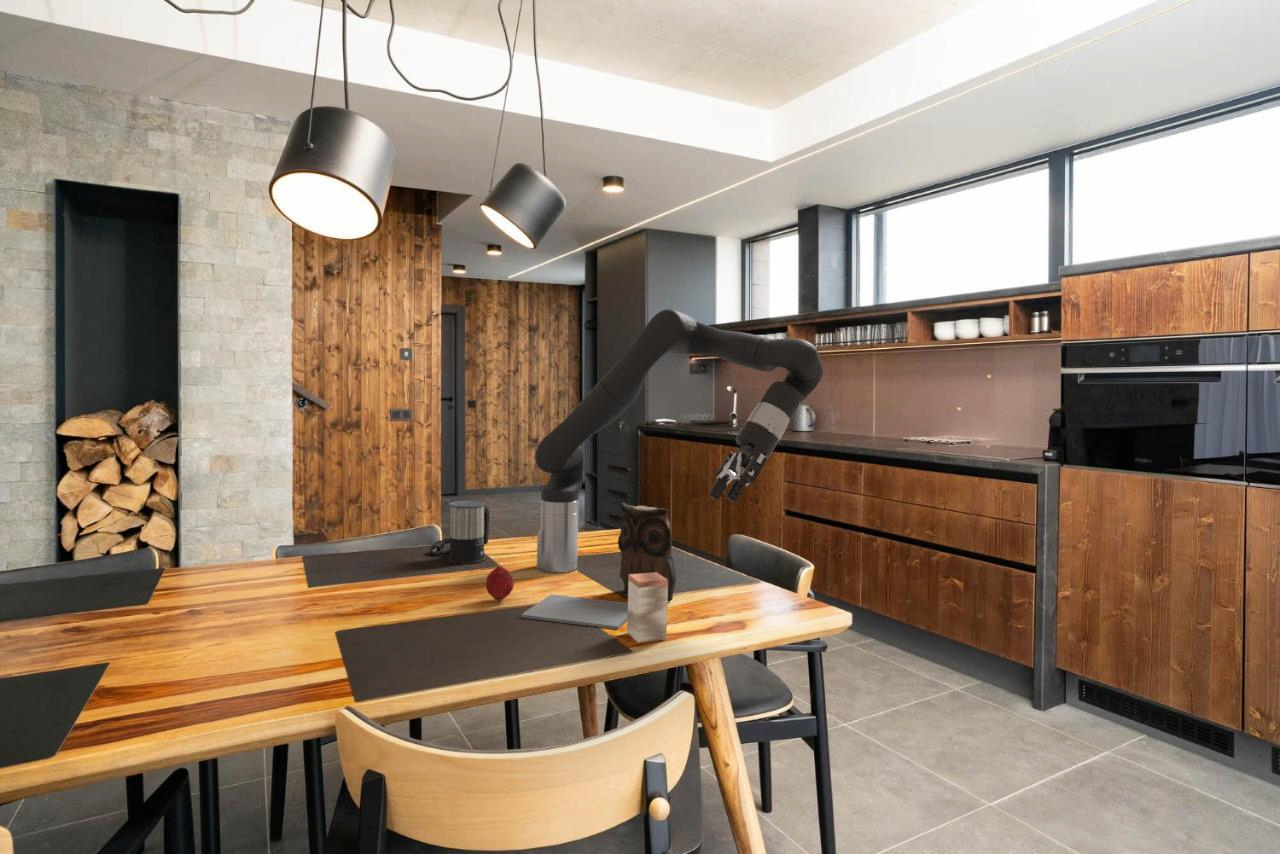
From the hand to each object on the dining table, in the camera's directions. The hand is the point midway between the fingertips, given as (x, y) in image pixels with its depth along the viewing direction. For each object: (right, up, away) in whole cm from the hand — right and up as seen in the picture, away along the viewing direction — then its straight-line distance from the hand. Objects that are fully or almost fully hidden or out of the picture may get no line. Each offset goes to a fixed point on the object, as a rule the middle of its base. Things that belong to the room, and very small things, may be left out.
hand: (721, 498), depth 145 cm
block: (-15, -25, -8) cm, 30 cm away
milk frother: (-64, -20, +49) cm, 83 cm away
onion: (-45, -23, +12) cm, 52 cm away
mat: (-27, -23, +5) cm, 37 cm away
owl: (-13, -23, +20) cm, 33 cm away
